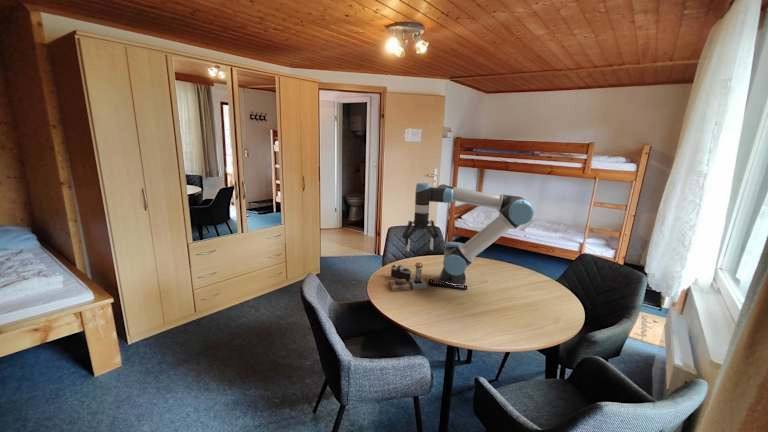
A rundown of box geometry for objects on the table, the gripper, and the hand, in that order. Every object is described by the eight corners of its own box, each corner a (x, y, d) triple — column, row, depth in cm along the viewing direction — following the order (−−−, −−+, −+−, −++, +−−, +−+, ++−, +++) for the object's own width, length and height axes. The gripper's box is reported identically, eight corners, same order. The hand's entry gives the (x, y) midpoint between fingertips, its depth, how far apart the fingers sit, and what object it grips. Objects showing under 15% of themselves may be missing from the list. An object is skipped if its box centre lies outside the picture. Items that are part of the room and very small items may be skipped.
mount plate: (422, 282, 189) (422, 278, 188) (426, 288, 181) (427, 284, 181) (408, 283, 187) (408, 279, 187) (413, 289, 180) (413, 285, 179)
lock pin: (419, 284, 187) (421, 262, 184) (422, 287, 183) (423, 265, 180) (413, 284, 186) (414, 262, 183) (415, 287, 182) (416, 265, 179)
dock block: (404, 282, 188) (405, 278, 187) (410, 290, 178) (410, 286, 178) (388, 284, 185) (388, 280, 185) (392, 292, 176) (392, 287, 175)
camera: (415, 278, 194) (414, 264, 193) (409, 282, 188) (408, 267, 186) (396, 275, 201) (395, 261, 200) (389, 279, 195) (389, 264, 193)
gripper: (440, 210, 181) (438, 246, 186) (397, 211, 175) (395, 248, 180) (446, 212, 174) (443, 250, 179) (401, 214, 168) (399, 253, 173)
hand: (419, 249), depth 179 cm, fingers open, 13 cm apart
